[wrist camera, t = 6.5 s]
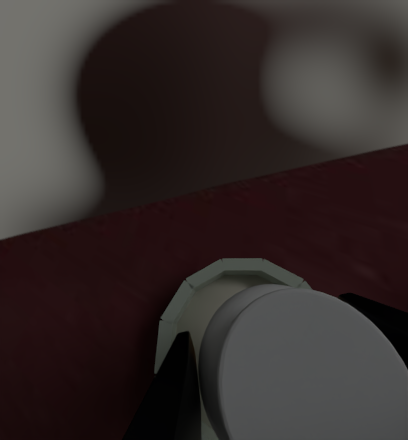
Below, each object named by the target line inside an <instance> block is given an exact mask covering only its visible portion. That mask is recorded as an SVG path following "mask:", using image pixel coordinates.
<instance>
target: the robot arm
mask: <svg viewBox="0 0 408 440" xmlns="http://www.w3.org/2000/svg"><path fill="white" fill-rule="evenodd" d="M338 299H340V300H341V301H343V302H345V303H347V304H349V305H350V306H352V307H353V308H355V309H356V310H358V311H359V312H360V313H362V314H363V315H364V316H365V317H367V318H368V319H369V320H370V321H371V322H372V323H373V324H374V325H375V326H376V327H377V328H378V329H379V330H380V331H381V332H382V333H383V334H384V335H385V337H386V338H387V339H388V340H389V341H390V342H391V344H392V345H393V347H394V348H395V350H396V351H397V353H398V354H399V356H400V357H401V359H402V360H403V362H404V364H405V366H406V367H407V369H408V313H407V312H404V311H401V310H398V309H395V308H393V307H390V306H387V305H384V304H381V303H379V302H376V301H373V300H370V299H367V298H364V297H362V296H359V295H356V294H353V293H346V294H341V295H339V297H338ZM122 440H202V434H201V401H200V391H199V382H198V373H197V364H196V355H195V350H194V346H193V342H192V338H191V335H190V332H189V331H184V332H180V333H178V334H177V335H176V337H175V339H174V341H173V343H172V345H171V347H170V349H169V351H168V353H167V355H166V356H165V358H164V360H163V362H162V364H161V366H160V368H159V370H158V372H157V374H156V376H155V378H154V379H153V381H152V383H151V385H150V387H149V389H148V391H147V393H146V395H145V397H144V399H143V401H142V402H141V404H140V406H139V408H138V410H137V412H136V414H135V416H134V418H133V420H132V422H131V424H130V425H129V427H128V429H127V431H126V433H125V435H124V437H123V439H122Z"/></svg>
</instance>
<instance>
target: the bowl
mask: <svg viewBox="0 0 408 440" xmlns="http://www.w3.org/2000/svg"><path fill="white" fill-rule="evenodd" d="M186 280H187V282H186V281H185V280H184V281H183V283H182V285H181V286H180V288H179V289H178V291H177V293H176V294H175V296H174V297H173V299H172V301H171V302H170V304H169V305H168V307H167V309H166V310H165V312H164V313H163V315H162V316H161V319H162V320H164V321H160V322H159V331H158V341H157V350H156V360H155V370H154V373H157V372H158V370H159V368H160V366H161V364H162V362H163V360H164V358H165V356H166V355H167V353H168V351H169V349H170V347H171V345H172V343H173V341H174V339H175V337H176V335H177V334H178V333H180V332H184V331H189V332H190V335H191V338H192V342H193V346H194V350H195V355H196V364H197V373H198V360H199V352H200V347H201V342H202V339H203V335H204V333H205V330H206V328H207V326H208V324H209V322H210V320H211V318H212V317H213V315H214V314H215V312H216V311H217V310H218V309H219V307H220V306H221V305H222V304H223V303H224V302H225V301H226V300H228V299H229V298H230V297H232V296H233V295H234V294H236V293H238V292H240V291H242V290H244V289H247V288H250V287H253V286H257V285H263V284H278V285H285V286H290V287H294V288H301V289H310V290H312V289H311V288H310V286H309V285H308V284H307V282H306V281H304V282H303V283H302V281H303V279H302V278H300V277H298V276H296V275H294V274H292V273H290V272H288V271H287V270H285V269H283V268H281V267H279V266H277V265H275V264H273V263H271V262H269V261H267V260H265V259H264V260H263V262H262V258H254V259H222V261H221V259H220V260H218V261H216V262H214V263H213V264H211V265H209V266H207V267H206V268H204V269H202V270H200V271H199V272H197V273H195V274H193V275H191V276H190V277H188V278H186ZM154 377H155V376H154ZM198 382H199V378H198ZM199 391H200V387H199ZM200 401H201V434H202V440H219V439H218V437H217V436H216V434H215V432H214V430H213V428H212V426H211V424H210V422H209V420H208V417H207V414H206V411H205V409H204V406H203V402H202V397H201V393H200Z"/></svg>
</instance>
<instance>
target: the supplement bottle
mask: <svg viewBox="0 0 408 440" xmlns="http://www.w3.org/2000/svg"><path fill="white" fill-rule="evenodd" d="M198 378H199V387H200V393H201V397H202V402H203V406H204V409H205V411H206V414H207V417H208V420H209V422H210V424H211V426H212V428H213V430H214V432H215V434H216V436H217V437H218V439H219V440H408V369H407V367H406V366H405V364H404V362H403V360H402V359H401V357H400V356H399V354H398V353H397V351H396V350H395V348H394V347H393V345H392V344H391V342H390V341H389V340H388V339H387V338H386V337H385V335H384V334H383V333H382V332H381V331H380V330H379V329H378V328H377V327H376V326H375V325H374V324H373V323H372V322H371V321H370V320H369V319H368V318H367V317H365V316H364V315H363V314H362V313H360V312H359V311H358V310H356V309H355V308H353V307H352V306H350V305H349V304H347V303H345V302H343V301H341V300H340V299H338V298H336V297H333V296H331V295H328V294H325V293H322V292H319V291H315V290H310V289H301V288H294V287H290V286H285V285H278V284H263V285H257V286H253V287H250V288H247V289H244V290H242V291H240V292H238V293H236V294H234V295H233V296H232V297H230V298H229V299H228V300H226V301H225V302H224V303H223V304H222V305H221V306H220V307H219V309H218V310H217V311H216V312H215V314H214V315H213V317H212V318H211V320H210V322H209V324H208V326H207V328H206V330H205V333H204V335H203V339H202V342H201V347H200V352H199V360H198Z"/></svg>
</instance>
